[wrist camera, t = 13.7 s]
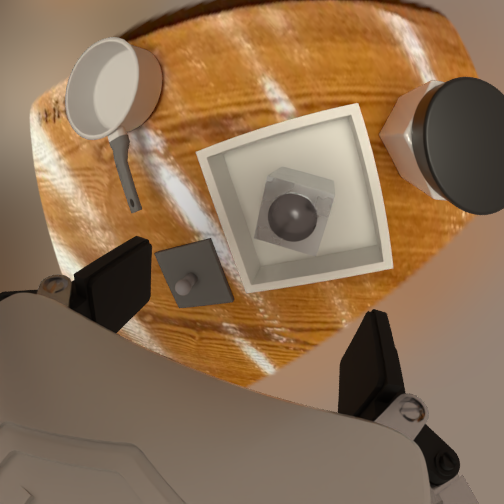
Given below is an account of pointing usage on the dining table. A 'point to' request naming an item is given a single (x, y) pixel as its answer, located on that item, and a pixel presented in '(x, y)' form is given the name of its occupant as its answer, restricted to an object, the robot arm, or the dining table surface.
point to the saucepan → (113, 99)
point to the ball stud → (195, 274)
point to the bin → (313, 162)
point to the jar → (451, 142)
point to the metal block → (295, 210)
